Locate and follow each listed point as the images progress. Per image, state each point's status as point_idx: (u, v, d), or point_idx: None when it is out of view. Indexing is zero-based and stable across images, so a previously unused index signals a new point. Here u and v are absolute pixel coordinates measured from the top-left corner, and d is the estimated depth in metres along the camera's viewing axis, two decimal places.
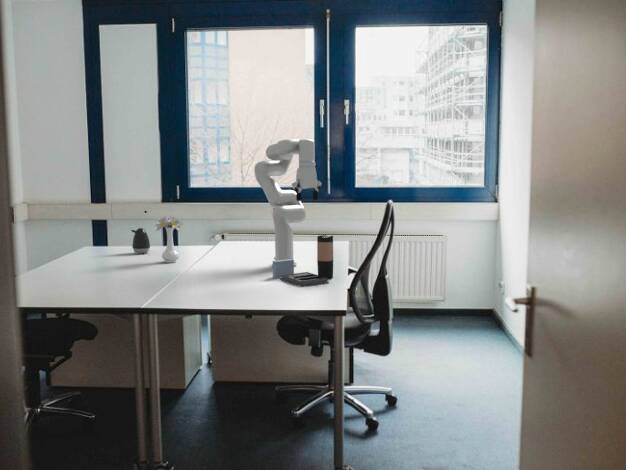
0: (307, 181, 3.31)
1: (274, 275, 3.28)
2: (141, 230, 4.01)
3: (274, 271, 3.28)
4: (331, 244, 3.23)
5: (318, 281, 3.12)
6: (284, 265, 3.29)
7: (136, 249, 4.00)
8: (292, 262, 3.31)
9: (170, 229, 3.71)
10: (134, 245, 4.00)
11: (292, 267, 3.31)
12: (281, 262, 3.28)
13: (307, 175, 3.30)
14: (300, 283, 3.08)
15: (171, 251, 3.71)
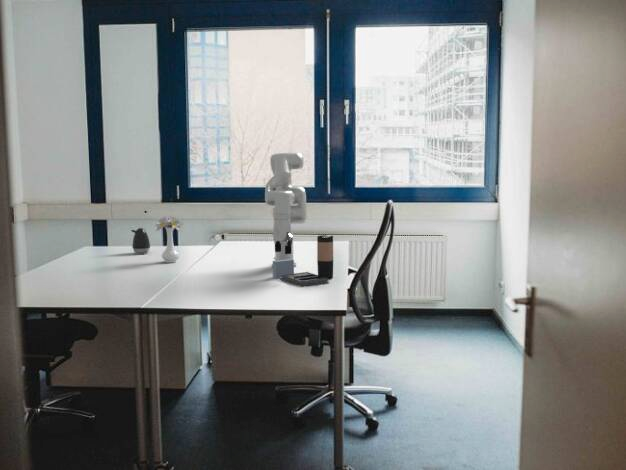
0: None
1: (274, 275, 3.28)
2: (141, 230, 4.01)
3: (274, 271, 3.28)
4: (331, 244, 3.23)
5: (318, 281, 3.12)
6: (284, 265, 3.29)
7: (136, 249, 4.00)
8: (292, 262, 3.31)
9: (170, 229, 3.71)
10: (134, 245, 4.00)
11: (292, 267, 3.31)
12: (281, 262, 3.28)
13: None
14: (300, 283, 3.08)
15: (171, 251, 3.71)
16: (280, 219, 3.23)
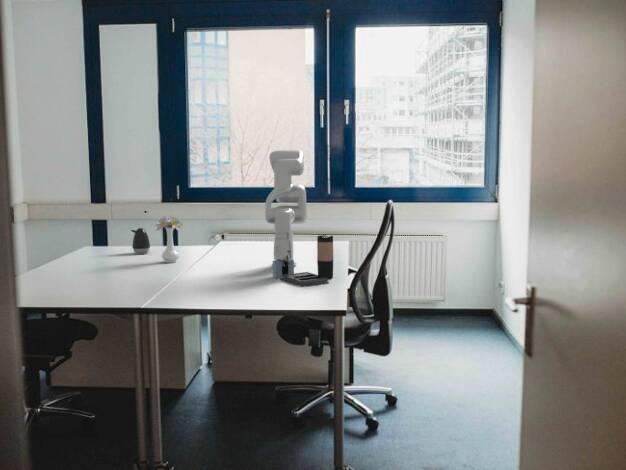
0: None
1: (274, 275, 3.28)
2: (141, 230, 4.01)
3: (274, 271, 3.28)
4: (331, 244, 3.23)
5: (318, 281, 3.12)
6: None
7: (136, 249, 4.00)
8: (292, 261, 3.31)
9: (170, 229, 3.71)
10: (134, 245, 4.00)
11: (292, 267, 3.31)
12: (281, 262, 3.28)
13: None
14: (300, 283, 3.08)
15: (171, 251, 3.71)
16: (280, 238, 3.25)
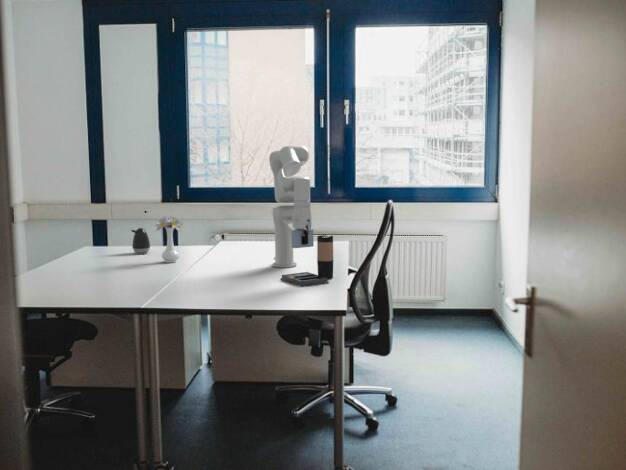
0: None
1: (293, 245, 3.14)
2: (141, 230, 4.01)
3: (293, 241, 3.14)
4: (331, 244, 3.23)
5: (318, 281, 3.12)
6: None
7: (136, 249, 4.00)
8: (312, 231, 3.17)
9: (170, 229, 3.71)
10: (134, 245, 4.00)
11: (312, 237, 3.17)
12: (300, 231, 3.14)
13: None
14: (300, 283, 3.08)
15: (171, 251, 3.71)
16: (300, 206, 3.11)
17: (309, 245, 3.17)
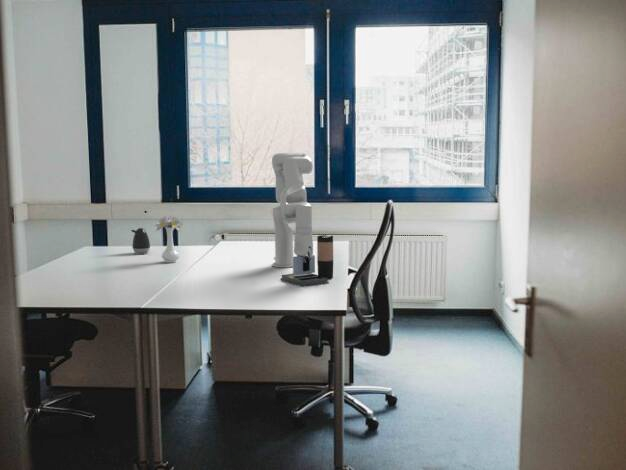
0: None
1: (294, 271, 3.15)
2: (141, 230, 4.01)
3: (295, 267, 3.15)
4: (331, 244, 3.23)
5: (318, 281, 3.12)
6: None
7: (136, 249, 4.00)
8: (313, 258, 3.18)
9: (170, 229, 3.71)
10: (134, 245, 4.00)
11: (313, 263, 3.18)
12: (302, 258, 3.15)
13: None
14: (300, 283, 3.08)
15: (171, 251, 3.71)
16: (301, 233, 3.12)
17: (310, 271, 3.18)
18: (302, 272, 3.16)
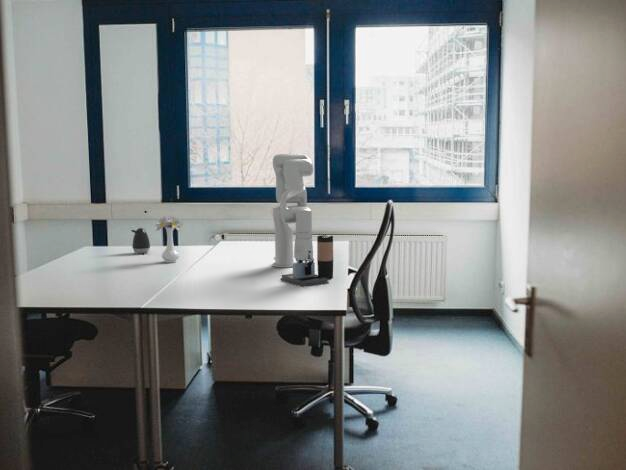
0: None
1: None
2: (141, 230, 4.01)
3: (294, 274, 3.16)
4: (331, 244, 3.23)
5: (318, 281, 3.12)
6: None
7: (136, 249, 4.00)
8: (313, 264, 3.19)
9: (170, 229, 3.71)
10: (134, 245, 4.00)
11: (313, 270, 3.19)
12: (302, 265, 3.16)
13: None
14: (300, 283, 3.08)
15: (171, 251, 3.71)
16: (301, 238, 3.12)
17: None
18: None
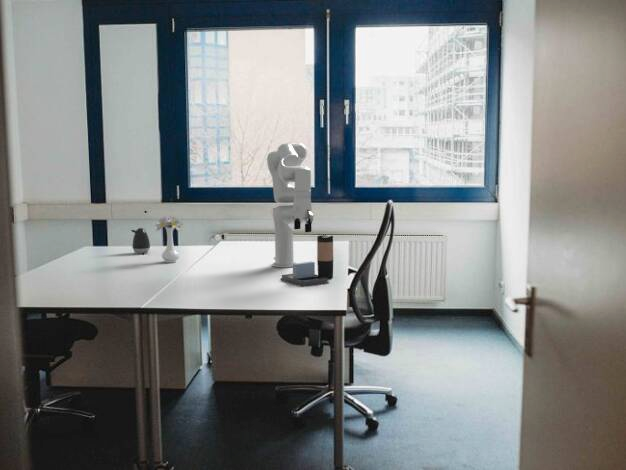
0: None
1: None
2: (141, 230, 4.01)
3: (294, 274, 3.16)
4: (331, 244, 3.23)
5: (318, 281, 3.12)
6: (305, 268, 3.17)
7: (136, 249, 4.00)
8: (313, 264, 3.19)
9: (170, 229, 3.71)
10: (134, 245, 4.00)
11: (313, 270, 3.19)
12: (302, 265, 3.16)
13: None
14: (300, 283, 3.08)
15: (171, 251, 3.71)
16: (300, 196, 3.15)
17: None
18: None
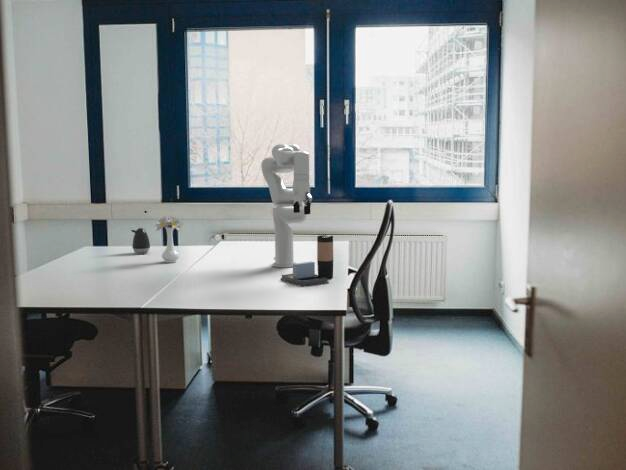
0: None
1: None
2: (141, 230, 4.01)
3: (294, 274, 3.16)
4: (331, 244, 3.23)
5: (318, 281, 3.12)
6: (305, 268, 3.17)
7: (136, 249, 4.00)
8: (313, 264, 3.19)
9: (170, 229, 3.71)
10: (134, 245, 4.00)
11: (313, 270, 3.19)
12: (302, 265, 3.16)
13: None
14: (300, 283, 3.08)
15: (171, 251, 3.71)
16: (299, 179, 3.23)
17: None
18: None
